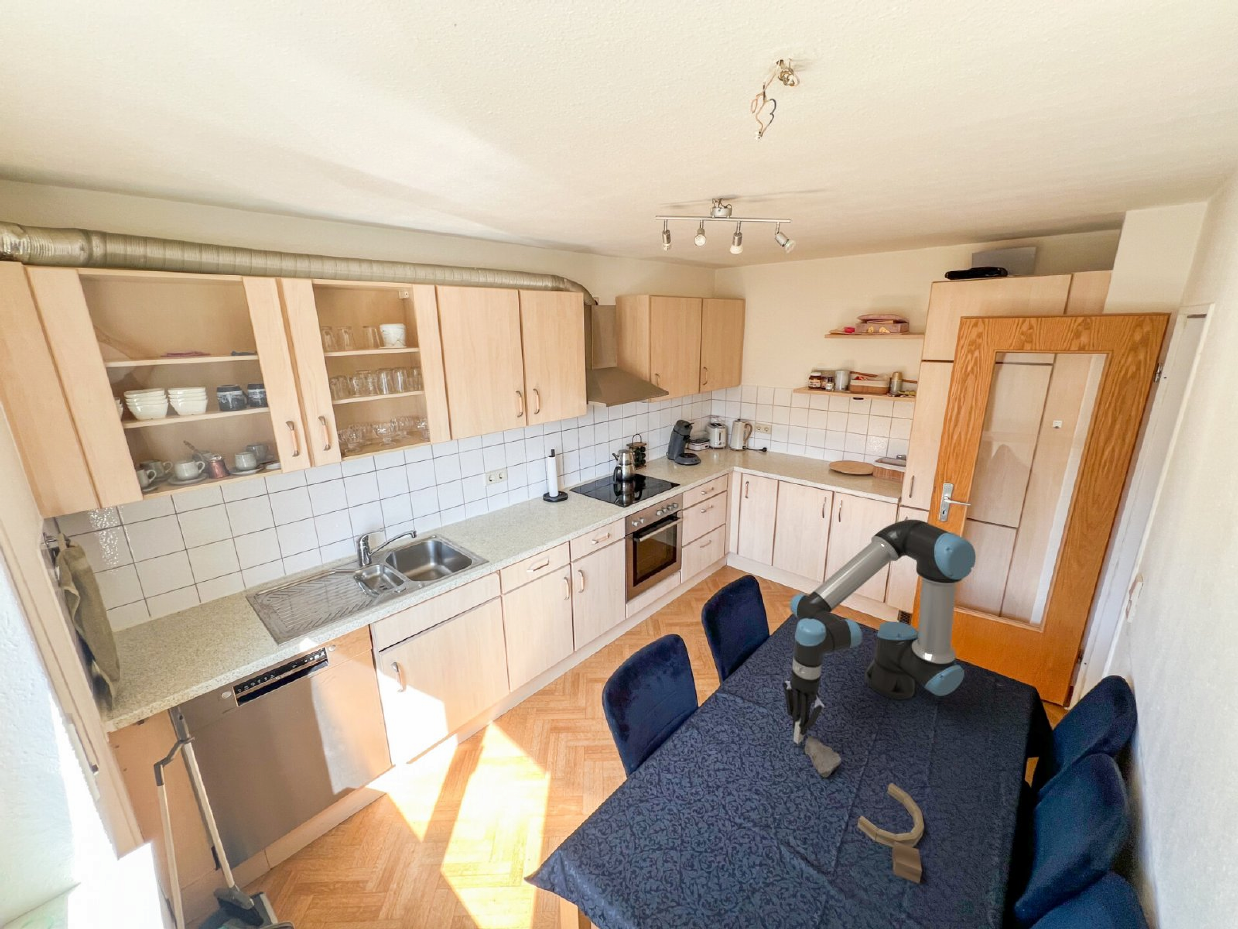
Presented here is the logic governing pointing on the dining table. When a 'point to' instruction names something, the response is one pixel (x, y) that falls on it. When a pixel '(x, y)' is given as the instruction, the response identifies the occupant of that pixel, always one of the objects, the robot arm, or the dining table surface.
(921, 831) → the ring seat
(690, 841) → the dining table surface
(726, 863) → the dining table surface
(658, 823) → the dining table surface
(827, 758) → the stone
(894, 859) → the walnut block
